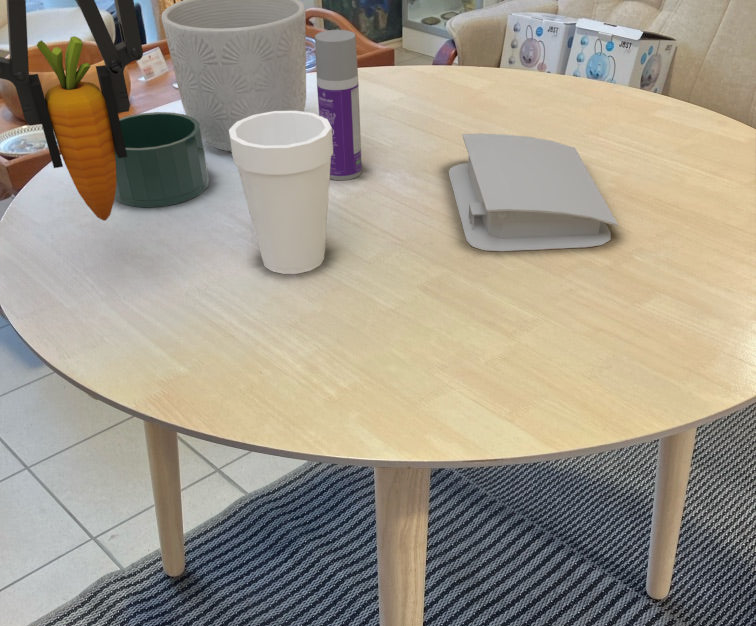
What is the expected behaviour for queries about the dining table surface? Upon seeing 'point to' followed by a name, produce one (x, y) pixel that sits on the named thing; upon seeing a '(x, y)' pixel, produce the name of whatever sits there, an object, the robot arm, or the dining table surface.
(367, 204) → the dining table surface
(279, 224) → the foam cup
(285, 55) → the planter
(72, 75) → the carrot
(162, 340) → the dining table surface
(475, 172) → the grey flat folded piece
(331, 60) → the container
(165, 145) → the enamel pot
